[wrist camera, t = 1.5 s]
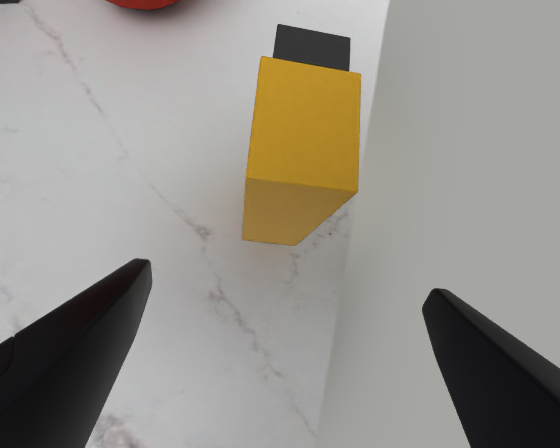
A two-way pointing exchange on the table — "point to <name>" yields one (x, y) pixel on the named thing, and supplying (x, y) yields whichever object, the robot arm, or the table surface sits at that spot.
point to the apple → (143, 3)
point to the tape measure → (301, 137)
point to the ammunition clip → (9, 1)
